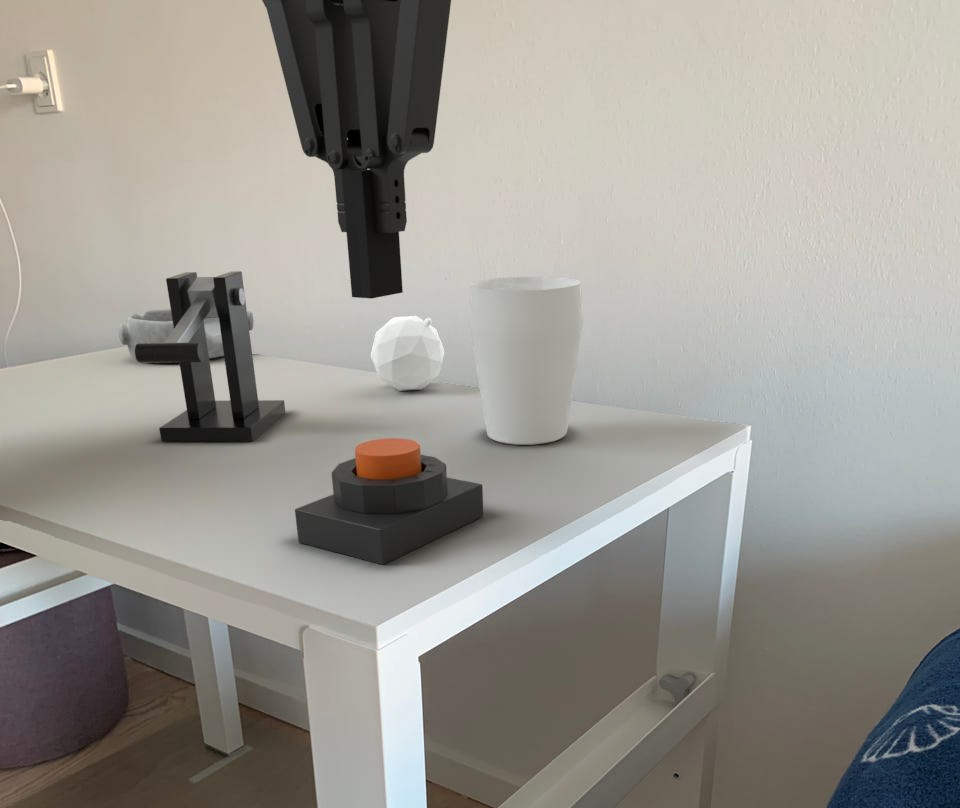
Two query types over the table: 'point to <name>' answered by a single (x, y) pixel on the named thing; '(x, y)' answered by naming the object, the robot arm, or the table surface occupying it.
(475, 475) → the table surface
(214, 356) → the dish
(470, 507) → the block
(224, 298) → the switch bracket
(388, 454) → the button
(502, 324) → the cup
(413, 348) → the ornament
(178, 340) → the switch
